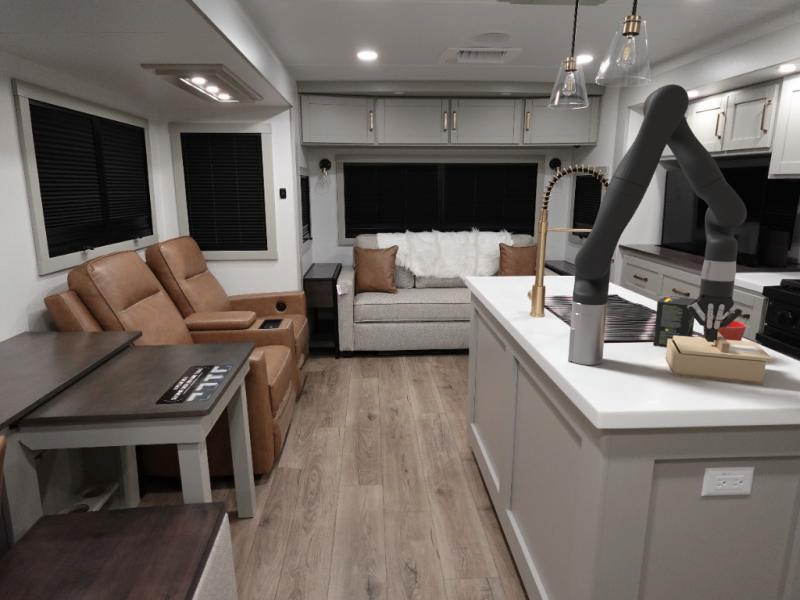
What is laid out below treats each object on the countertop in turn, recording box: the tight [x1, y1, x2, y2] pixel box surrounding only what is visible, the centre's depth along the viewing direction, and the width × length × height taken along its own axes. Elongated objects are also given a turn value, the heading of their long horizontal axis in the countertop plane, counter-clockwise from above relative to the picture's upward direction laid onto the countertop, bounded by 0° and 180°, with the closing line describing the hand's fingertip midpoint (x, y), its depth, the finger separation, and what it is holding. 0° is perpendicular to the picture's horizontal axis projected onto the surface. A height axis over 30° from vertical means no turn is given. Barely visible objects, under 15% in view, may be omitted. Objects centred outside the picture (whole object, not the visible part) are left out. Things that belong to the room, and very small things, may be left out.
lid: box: [673, 332, 774, 362], centre depth 137 cm, size 20×15×3 cm
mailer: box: [665, 339, 767, 386], centre depth 138 cm, size 20×15×6 cm
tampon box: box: [652, 295, 697, 348], centre depth 161 cm, size 11×9×15 cm
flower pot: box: [702, 318, 747, 341], centre depth 152 cm, size 11×11×10 cm
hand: (710, 341), depth 137 cm, fingers closed
